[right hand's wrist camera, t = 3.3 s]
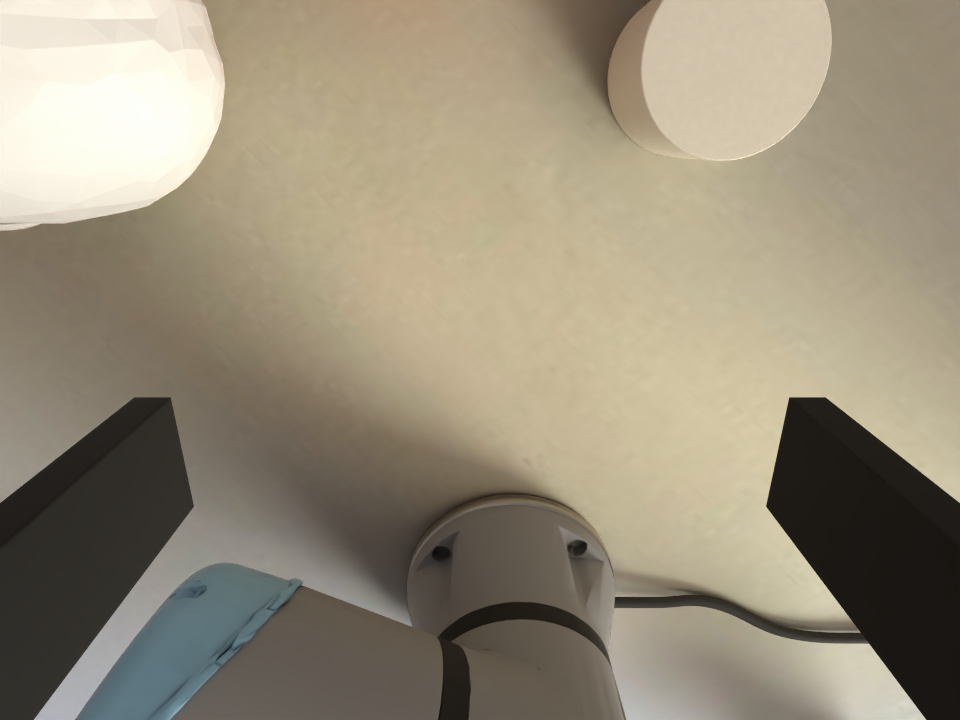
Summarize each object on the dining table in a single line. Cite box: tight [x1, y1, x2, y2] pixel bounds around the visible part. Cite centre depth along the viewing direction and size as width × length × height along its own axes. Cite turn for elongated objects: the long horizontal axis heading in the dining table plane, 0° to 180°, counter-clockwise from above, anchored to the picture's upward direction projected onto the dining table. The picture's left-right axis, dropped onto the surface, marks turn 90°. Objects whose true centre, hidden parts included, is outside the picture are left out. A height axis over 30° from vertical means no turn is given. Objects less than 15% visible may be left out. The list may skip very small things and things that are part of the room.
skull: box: [0, 0, 225, 231], centre depth 25 cm, size 13×22×16 cm, turn 103°
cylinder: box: [607, 0, 832, 161], centre depth 30 cm, size 8×8×7 cm
